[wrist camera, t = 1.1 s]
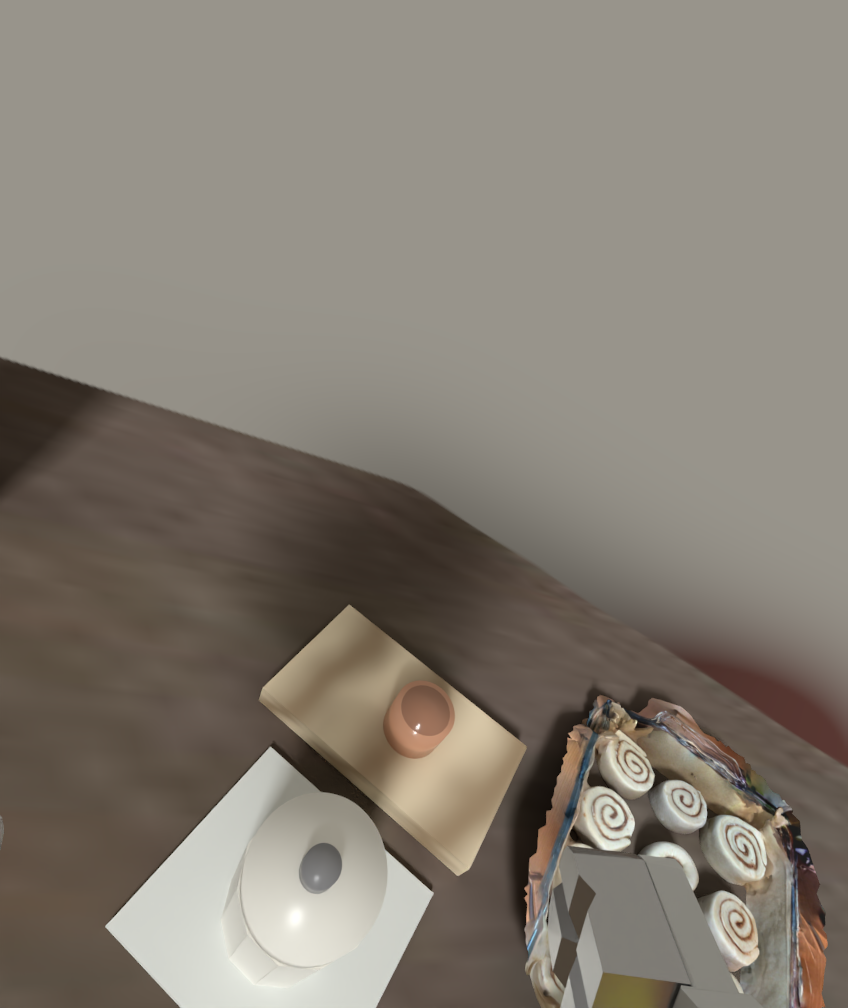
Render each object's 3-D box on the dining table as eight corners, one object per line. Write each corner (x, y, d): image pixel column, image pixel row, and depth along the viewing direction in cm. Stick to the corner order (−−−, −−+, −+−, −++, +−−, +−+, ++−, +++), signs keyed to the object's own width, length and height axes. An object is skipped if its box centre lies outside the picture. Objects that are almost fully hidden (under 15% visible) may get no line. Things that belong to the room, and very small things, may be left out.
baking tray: (571, 662, 53) (601, 632, 49) (778, 799, 50) (825, 778, 46) (440, 1036, 30) (478, 1029, 27) (801, 1335, 27) (898, 1371, 24)
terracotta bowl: (371, 730, 39) (383, 712, 37) (404, 687, 42) (417, 668, 40) (420, 772, 38) (435, 755, 36) (449, 724, 41) (465, 707, 39)
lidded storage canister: (195, 925, 29) (210, 884, 23) (283, 816, 34) (315, 756, 28) (288, 1021, 28) (332, 1005, 22) (365, 892, 33) (419, 849, 27)
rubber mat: (106, 927, 29) (105, 926, 28) (269, 749, 37) (270, 746, 37) (305, 1141, 26) (307, 1142, 25) (430, 895, 35) (433, 893, 34)
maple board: (258, 700, 39) (262, 687, 38) (343, 617, 47) (349, 604, 45) (457, 876, 36) (469, 868, 35) (515, 756, 43) (527, 746, 42)
